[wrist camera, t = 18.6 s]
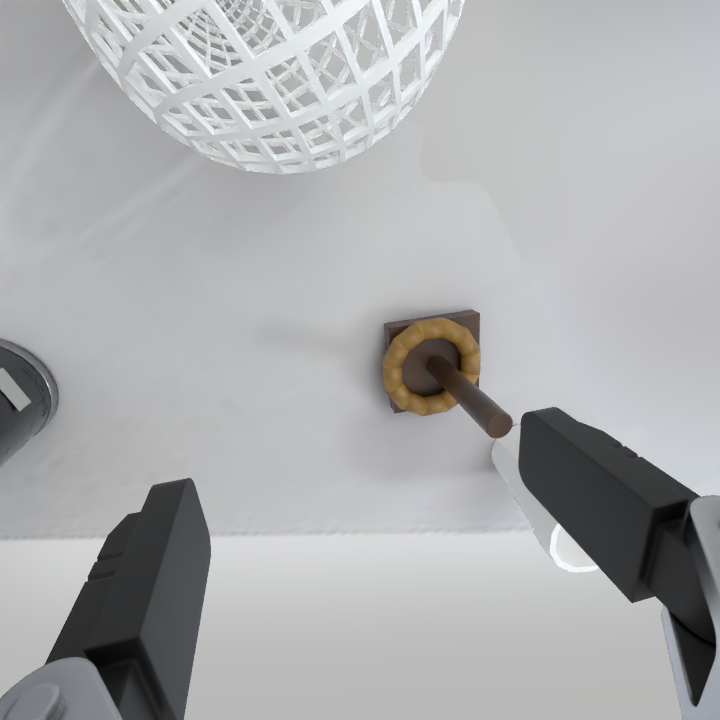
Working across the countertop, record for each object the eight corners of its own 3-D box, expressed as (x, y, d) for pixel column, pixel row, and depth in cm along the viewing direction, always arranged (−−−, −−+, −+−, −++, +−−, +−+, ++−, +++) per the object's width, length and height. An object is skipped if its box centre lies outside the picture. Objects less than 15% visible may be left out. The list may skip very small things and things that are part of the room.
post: (390, 406, 41) (440, 491, 29) (384, 323, 38) (437, 379, 26) (472, 391, 43) (553, 466, 30) (472, 309, 39) (564, 356, 27)
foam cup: (529, 488, 49) (610, 577, 37) (465, 475, 47) (531, 567, 35) (566, 421, 47) (665, 495, 35) (501, 404, 44) (585, 476, 32)
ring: (384, 417, 40) (389, 426, 38) (376, 324, 36) (381, 330, 35) (474, 400, 41) (482, 408, 40) (475, 309, 38) (484, 314, 36)
